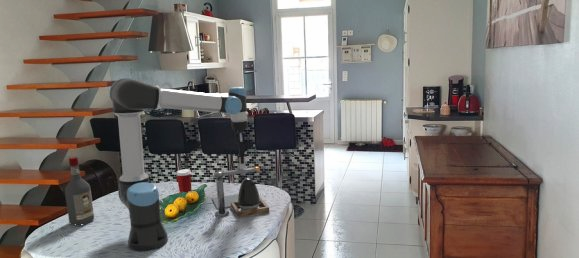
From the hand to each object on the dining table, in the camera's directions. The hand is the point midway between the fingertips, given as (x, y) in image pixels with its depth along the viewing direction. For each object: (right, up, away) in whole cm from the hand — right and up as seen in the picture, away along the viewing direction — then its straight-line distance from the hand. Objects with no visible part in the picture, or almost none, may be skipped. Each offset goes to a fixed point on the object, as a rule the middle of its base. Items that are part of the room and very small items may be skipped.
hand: (242, 169), depth 217 cm
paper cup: (-31, -16, +20) cm, 40 cm away
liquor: (-73, -23, -7) cm, 77 cm away
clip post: (-9, -20, -6) cm, 23 cm away
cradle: (+4, -19, -2) cm, 19 cm away
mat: (-7, -17, +10) cm, 20 cm away
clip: (-2, -1, -7) cm, 8 cm away
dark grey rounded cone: (+4, -19, -2) cm, 19 cm away
